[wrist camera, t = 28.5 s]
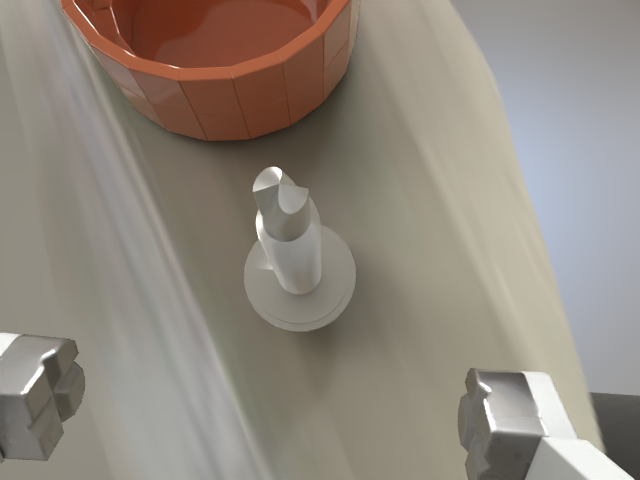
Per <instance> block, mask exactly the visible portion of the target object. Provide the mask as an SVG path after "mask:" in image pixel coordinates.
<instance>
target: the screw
mask: <svg viewBox="0 0 640 480" xmlns="http://www.w3.org/2000/svg"><path fill="white" fill-rule="evenodd" d="M253 194H254V197H255V200H256V202H257V205H258V207H259V210H258V213H257V217H256V227H257V234H258V238H259V239H258V240H257V241H256V242H255V244H254V246H253V247H252V249H251V250H250V252H249V255H248V257H247V260H246V263H245V269H244V285H245V290H246V293H247V296H248V299H249V301H250V303H251V304H252V306H253V308H254V309H255V310H256V311H257V313H258V314H259V315H260V316H261V317H262V318H263V319H264V320H266V321H267V322H269V323H270V324H272V325H273V326H276V327H278V328H281V329H283V330H287V331H293V332H306V331H312V330H316V329H319V328H322V327H324V326H326V325H327V324H329V323H331V322H333V321H334V320H335V319H336V318H337V317H338V316H339V315H341V314H342V312H343V311H344V310H345V308H346V307H347V305H348V304H349V302H350V300H351V297H352V295H353V293H354V288H355V283H356V267H355V263H354V259H353V256H352V254H351V252H350V250H349V248H348V246H347V244H346V243H345V242H344V241H343V240H342V238H341V237H340V236H339V235H337V234H336V233H335V232H334V231H332V230H331V229H329V228H327V227H325V226H323V225H321V223H320V216H319V213H318V211H317V209H316V206H315V204H314V202H313V201H312V199H311V198H310V197H309V188H303V187H297V185H296V184H295V183H294V182H293V181H292V179H291V178H290V177H289V176H288V175H287V174H285V173H284V172H283V171H282V170H280V169H279V168H277V167H269V168H266V169H265V170H263V171H262V172H261V173H260V174H259V175H258V177H257V178H256V180H255V182H254V185H253Z"/></svg>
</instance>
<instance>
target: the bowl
mask: <svg viewBox="0 0 640 480" xmlns="http://www.w3.org/2000/svg"><path fill="white" fill-rule="evenodd" d="M59 2H60V5H61V9H62V10H63V12H64V14H65V15H66V16H67V18H68V19H69V21H70V22H71V23H72V25H73V26H74V28H75V29H76V30H77V32H78V33H79V34H80V36H81V37H82V39H83V40H84V41H85V43H86V44H87V46H88V47H89V48H90V50H91V51H92V53H93V54H94V55H95V57H96V58H97V60H98V61H99V62H100V64H101V65H102V67H103V68H104V69H105V71H106V72H107V73H108V75H109V76H110V78H111V79H112V80H113V82H114V83H115V84H116V86H117V87H118V88H119V90H120V91H121V92H122V93H123V95H124V96H125V97H126V99H127V100H128V101H129V102H130V104H131V105H132V106H133V108H134V109H136V111H138V112H139V113H141V114H143V115H144V116H146V117H147V118H149V119H150V120H152V121H153V122H155V123H157V124H158V125H160V126H161V127H163V128H164V129H166V130H169V131H170V132H174V133H178V134H182V135H186V136H190V137H194V138H197V139H201V140H205V141H208V140H209V141H225V140H249V139H250V138H251V139H253V138H256V137H259V136H262V135H265V134H268V133H271V132H274V131H277V130H280V129H283V128H286V127H289V126H290V125H293V124H294V123H296V122H297V121H298V120H300V119H301V118H303V117H304V116H305V115H307V114H308V113H310V112H311V111H312V110H314V109H315V108H317V107H318V106H319V105H321V104H322V103H323V102H324V101H325V100H326V99H327V97H328V96H329V94H330V93H331V92H332V90H333V89H334V88H335V86H336V85H337V84H338V82H339V81H340V79H341V78H342V77H343V75H344V74H345V73H346V70H347V68H348V64H349V61H350V58H351V54H352V51H353V48H354V44H355V41H356V36H357V27H358V16H359V6H360V0H59Z"/></svg>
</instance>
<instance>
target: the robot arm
mask: <svg viewBox="0 0 640 480" xmlns="http://www.w3.org/2000/svg"><path fill="white" fill-rule="evenodd" d="M78 354H79V352H78V349H77V346H76V343H75V341H73V340H71V339H66V338H56V337H46V336H36V335H25V334H24V335H20V334H10V333H1V332H0V464H1V463H2V462H4V459H22V460H42V461H47V460H48V459H49V457H50V455H51V453H52V452H53V450H54V448H55V447H56V445H57V443H58V442H59V440H60V438H61V437H62V435H63V433H64V431H63V426H62V422H64V421H66V420H67V419H69V418H70V417H72V416H73V415H75V413H76V411H77V409H78V408H79V406H80V404H81V402H82V398H83V394H84V391H85V376H84V372H83V369H82V368H81V367H80V366H79V365H78V364H77V363H76V362H75V361H74V360H75V358H76V357H77V355H78ZM465 384H466V388H467V392H468V393H467V394H465V395H464V396H463V397H461V400H460V405H459V409H458V431H459V437H460V442H461V445H462V446H463V447H464V448H465V449H466V450H467V452H468V455H467V459H466V463H465V466H466V471H467V476H468V480H634V479H633V478H632V477H631V476H630V475H628V474H627V473H626V472H625V471H623V470H622V469H621V468H620V467H619V466H617V465H616V464H615V463H614V462H613V461H611V460H610V459H609V458H608V457H607V456H605V455H604V454H603V453H602V452H601V451H599V450H598V449H597V448H596V447H594V446H593V445H592V444H591V443H590V442H588V441H587V440H579V438H578V436H577V434H576V431H575V429H574V427H573V425H572V423H571V421H570V418H569V416H568V414H567V412H566V410H565V407H564V405H563V403H562V401H561V399H560V396H559V394H558V392H557V390H556V388H555V386H554V383H553V381H552V379H551V377H550V376H549V375H548V374H547V373H543V372H526V371H521V372H519V371H507V370H492V369H476V368H470V370H469V372H468V373H467V377H466V381H465Z"/></svg>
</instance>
